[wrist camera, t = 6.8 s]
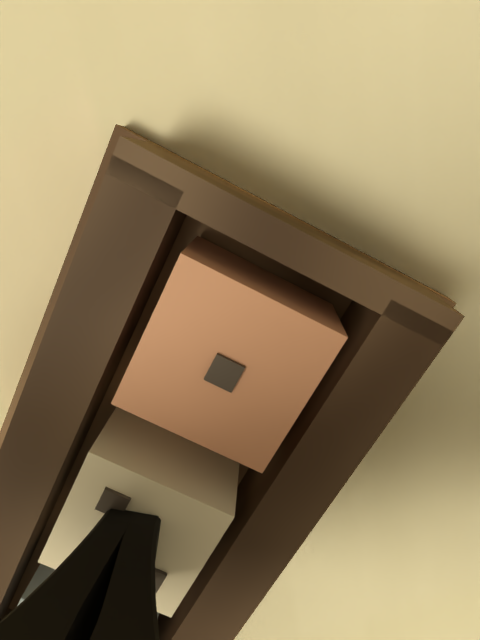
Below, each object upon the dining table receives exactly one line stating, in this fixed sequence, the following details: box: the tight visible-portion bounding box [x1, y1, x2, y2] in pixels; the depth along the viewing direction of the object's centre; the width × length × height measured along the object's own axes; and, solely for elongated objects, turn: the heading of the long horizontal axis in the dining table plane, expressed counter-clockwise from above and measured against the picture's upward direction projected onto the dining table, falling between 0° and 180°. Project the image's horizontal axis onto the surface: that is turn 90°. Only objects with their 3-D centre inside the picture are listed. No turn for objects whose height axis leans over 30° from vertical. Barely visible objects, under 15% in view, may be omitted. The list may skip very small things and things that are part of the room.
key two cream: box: [38, 407, 239, 618], centre depth 13 cm, size 4×4×3 cm
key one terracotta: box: [111, 236, 348, 473], centre depth 11 cm, size 4×4×3 cm
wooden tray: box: [0, 124, 465, 640], centre depth 14 cm, size 10×18×3 cm, turn 153°
